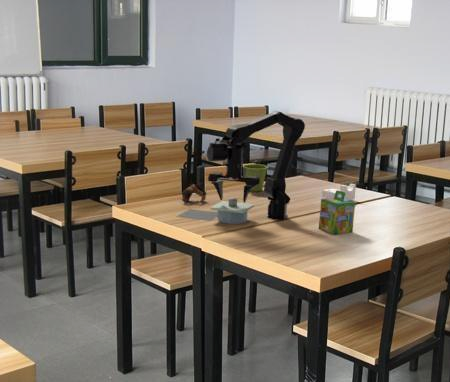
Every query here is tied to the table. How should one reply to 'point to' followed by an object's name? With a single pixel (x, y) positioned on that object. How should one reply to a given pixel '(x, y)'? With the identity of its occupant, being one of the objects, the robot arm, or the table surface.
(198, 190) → the brown arch
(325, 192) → the bracket
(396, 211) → the table surface
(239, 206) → the lid
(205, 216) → the mat
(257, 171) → the plant pot
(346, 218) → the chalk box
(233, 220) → the bowl
